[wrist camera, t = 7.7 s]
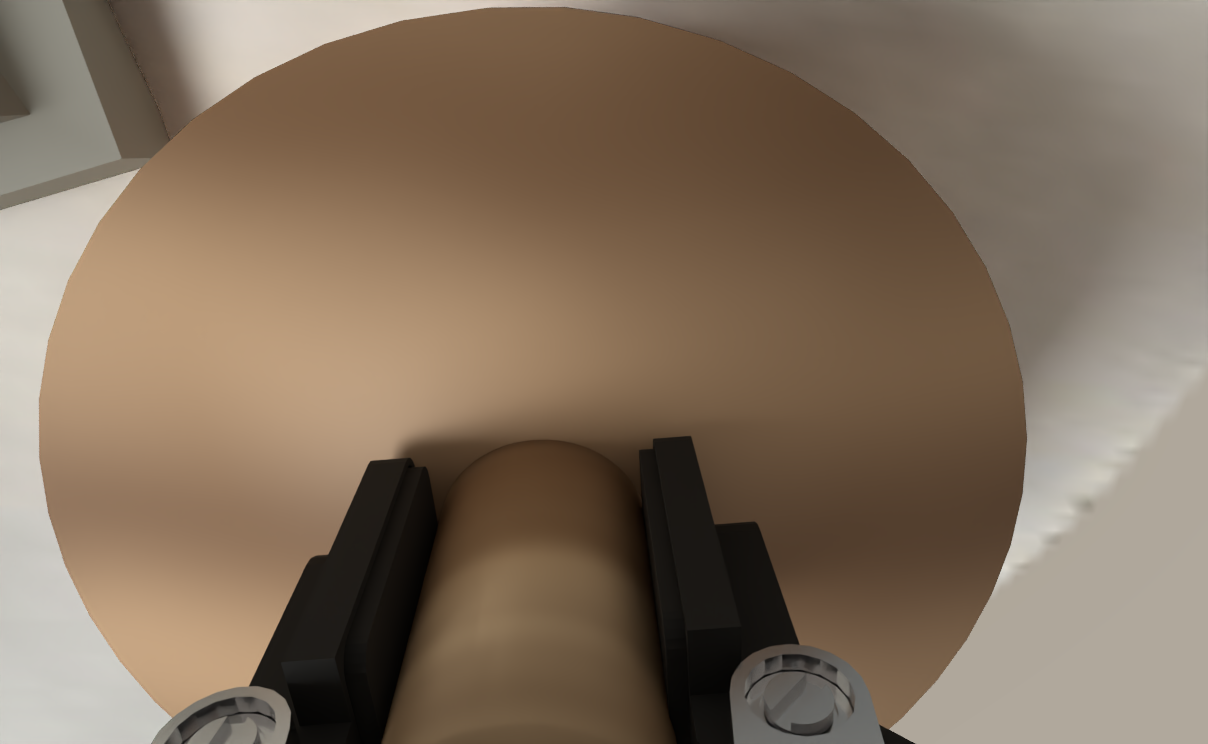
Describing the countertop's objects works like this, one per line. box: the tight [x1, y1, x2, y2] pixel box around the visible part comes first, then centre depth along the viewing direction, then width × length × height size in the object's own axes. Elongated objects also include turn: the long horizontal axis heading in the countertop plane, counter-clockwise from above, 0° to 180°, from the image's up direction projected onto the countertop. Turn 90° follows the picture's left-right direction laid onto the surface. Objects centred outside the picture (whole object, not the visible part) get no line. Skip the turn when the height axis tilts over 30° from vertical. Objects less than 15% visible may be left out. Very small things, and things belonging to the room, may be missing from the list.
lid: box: [39, 7, 1027, 744], centre depth 11 cm, size 14×14×6 cm
